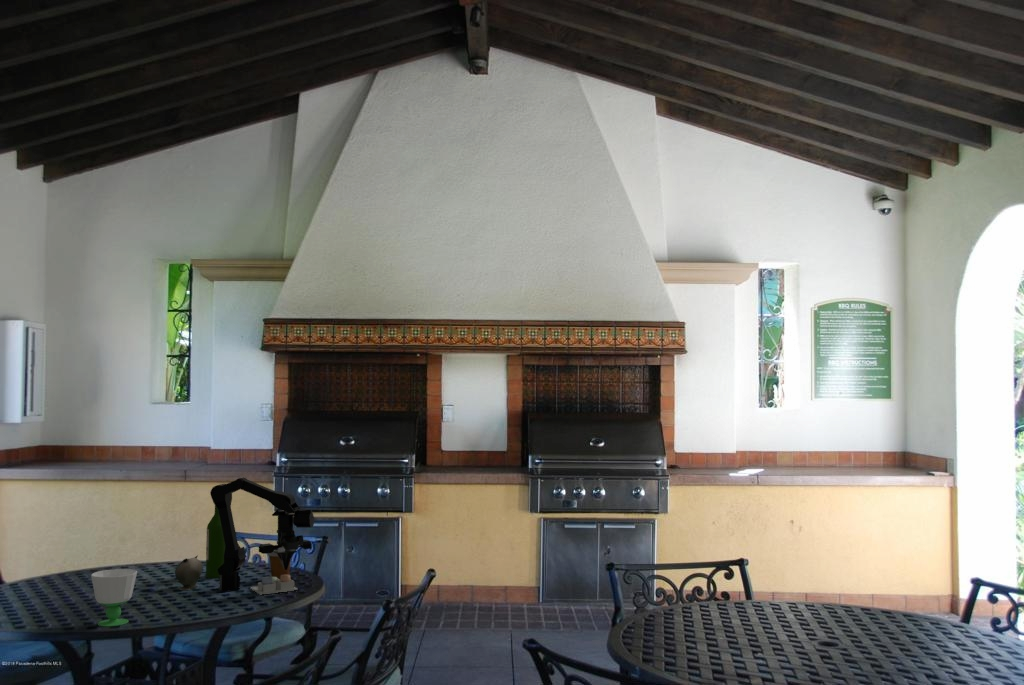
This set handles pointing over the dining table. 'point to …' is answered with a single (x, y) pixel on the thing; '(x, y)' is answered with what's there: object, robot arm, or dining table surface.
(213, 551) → the wine bottle
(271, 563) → the disposable coffee cup
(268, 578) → the slate button
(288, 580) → the terracotta button
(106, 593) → the cup
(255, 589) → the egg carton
